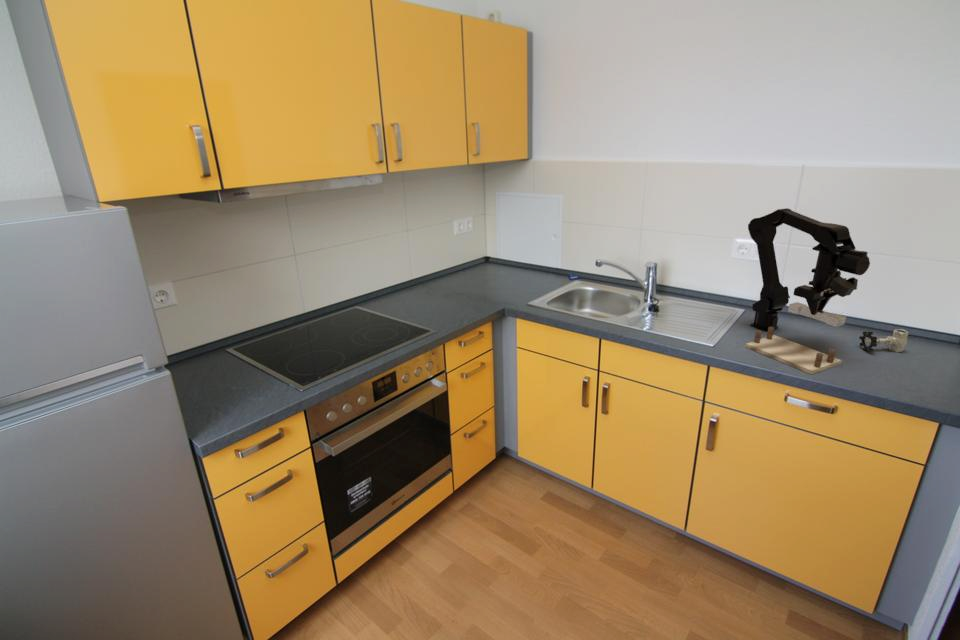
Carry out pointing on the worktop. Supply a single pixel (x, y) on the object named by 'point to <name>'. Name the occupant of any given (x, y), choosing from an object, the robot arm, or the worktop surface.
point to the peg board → (792, 353)
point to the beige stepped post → (817, 314)
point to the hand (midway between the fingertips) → (815, 313)
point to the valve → (886, 340)
